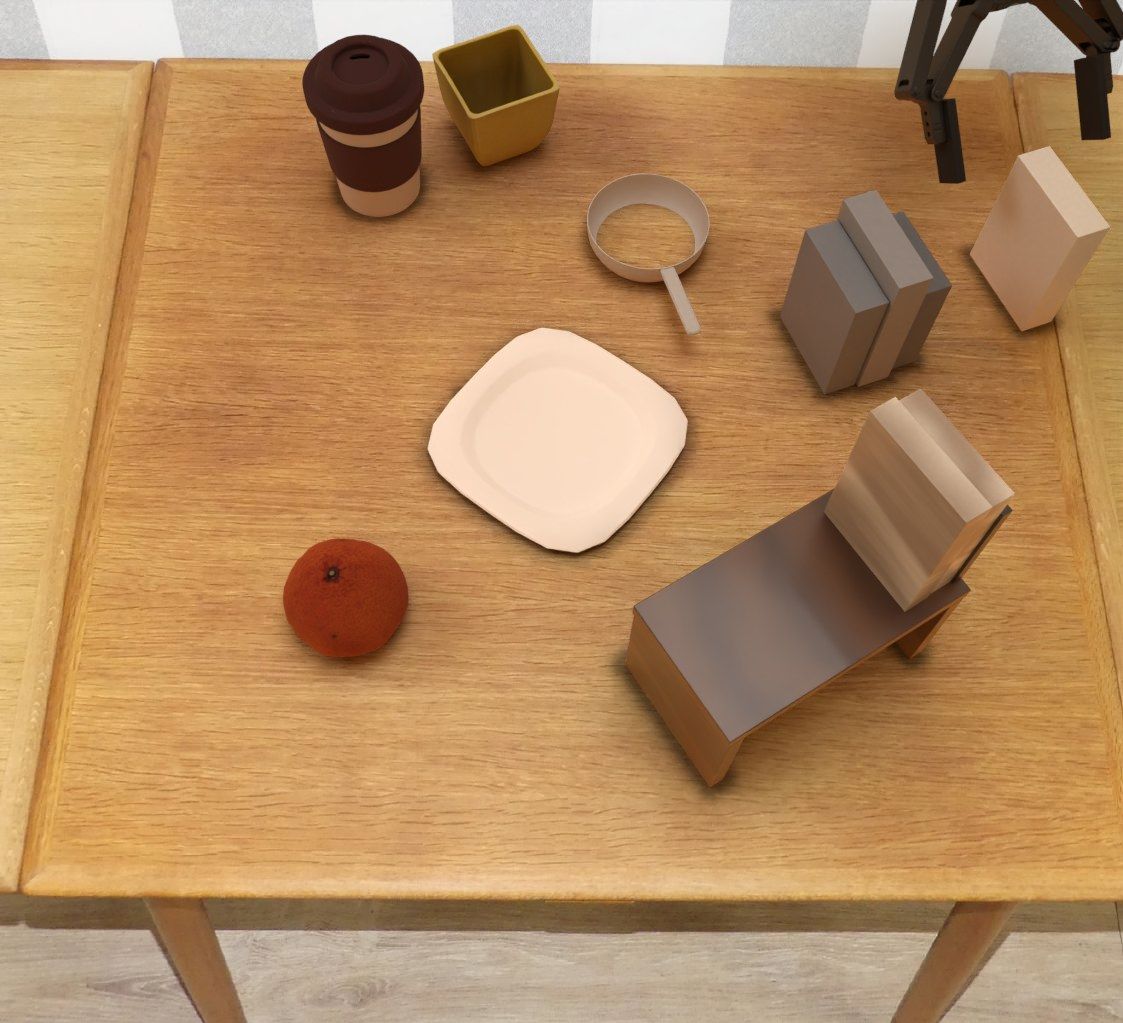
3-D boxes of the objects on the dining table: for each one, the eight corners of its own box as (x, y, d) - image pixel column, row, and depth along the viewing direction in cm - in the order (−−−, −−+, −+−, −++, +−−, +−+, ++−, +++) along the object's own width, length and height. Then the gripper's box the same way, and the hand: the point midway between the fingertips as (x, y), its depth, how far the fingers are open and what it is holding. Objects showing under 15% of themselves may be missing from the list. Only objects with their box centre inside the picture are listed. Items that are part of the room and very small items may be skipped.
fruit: (276, 655, 92) (254, 614, 85) (318, 552, 96) (301, 505, 89) (388, 686, 91) (376, 647, 84) (426, 580, 95) (417, 535, 88)
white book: (967, 258, 110) (1017, 155, 99) (996, 249, 111) (1049, 145, 99) (1019, 335, 106) (1077, 237, 95) (1048, 325, 107) (1110, 227, 95)
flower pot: (560, 160, 115) (562, 87, 107) (475, 191, 113) (470, 118, 105) (520, 98, 118) (519, 22, 110) (437, 126, 116) (429, 51, 108)
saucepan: (682, 189, 113) (687, 160, 110) (749, 344, 105) (756, 318, 102) (571, 213, 112) (572, 184, 108) (630, 372, 104) (633, 346, 100)
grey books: (776, 318, 107) (808, 209, 94) (867, 289, 108) (910, 179, 96) (824, 401, 103) (863, 300, 90) (917, 370, 104) (968, 266, 92)
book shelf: (832, 541, 97) (921, 361, 74) (921, 652, 93) (1044, 497, 70) (621, 667, 92) (649, 515, 69) (706, 791, 88) (764, 671, 65)
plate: (402, 460, 100) (400, 450, 98) (538, 317, 106) (538, 305, 105) (580, 585, 95) (581, 576, 93) (711, 426, 101) (713, 416, 100)
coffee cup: (402, 247, 110) (383, 123, 96) (306, 209, 111) (275, 82, 98) (453, 171, 114) (442, 43, 100) (360, 136, 115) (337, 5, 102)
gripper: (1099, -144, 99) (1123, 122, 106) (823, -75, 94) (867, 199, 101) (1167, -167, 92) (1187, 120, 99) (872, -93, 87) (915, 202, 95)
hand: (1025, 161), depth 100 cm, fingers open, 13 cm apart
